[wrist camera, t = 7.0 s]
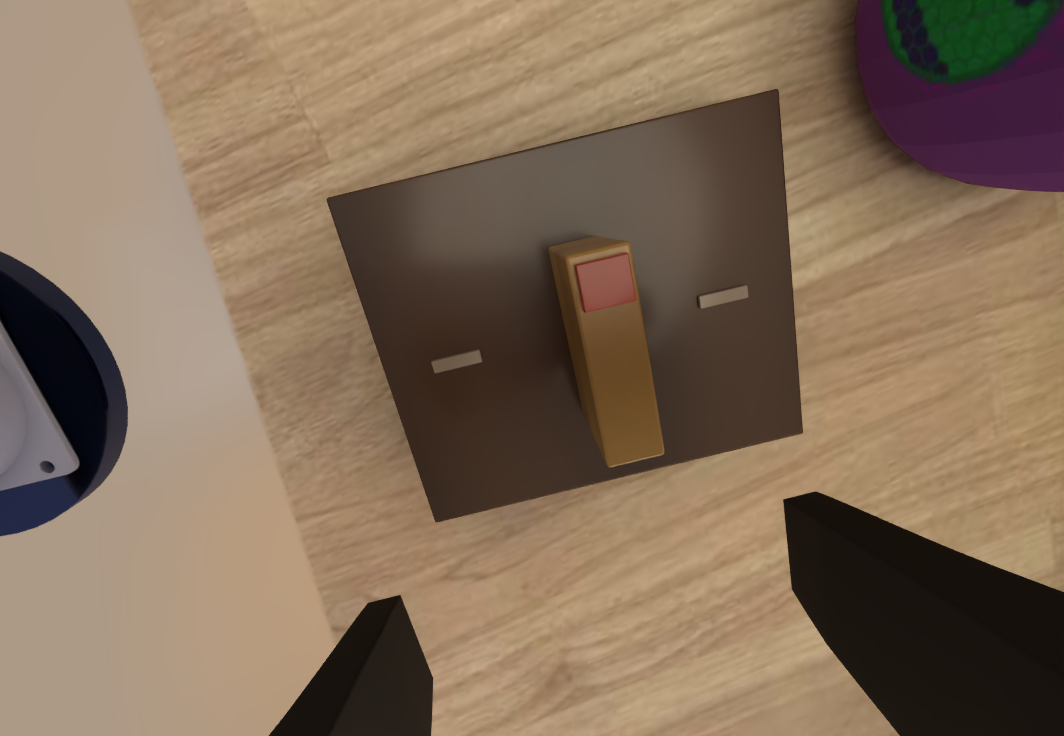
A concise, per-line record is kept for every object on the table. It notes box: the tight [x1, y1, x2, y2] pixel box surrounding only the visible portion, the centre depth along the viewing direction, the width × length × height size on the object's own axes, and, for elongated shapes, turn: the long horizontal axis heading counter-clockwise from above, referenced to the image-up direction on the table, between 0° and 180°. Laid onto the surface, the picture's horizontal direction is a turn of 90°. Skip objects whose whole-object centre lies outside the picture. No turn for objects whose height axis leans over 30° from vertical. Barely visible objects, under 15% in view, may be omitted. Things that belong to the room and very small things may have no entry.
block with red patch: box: [548, 236, 665, 467], centre depth 12 cm, size 5×1×4 cm, turn 13°
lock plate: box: [327, 89, 803, 522], centre depth 16 cm, size 12×10×3 cm
